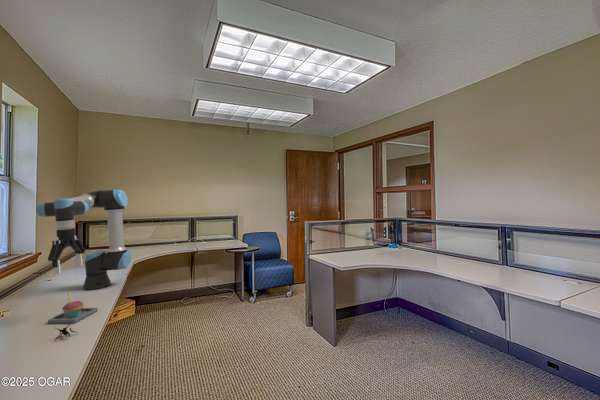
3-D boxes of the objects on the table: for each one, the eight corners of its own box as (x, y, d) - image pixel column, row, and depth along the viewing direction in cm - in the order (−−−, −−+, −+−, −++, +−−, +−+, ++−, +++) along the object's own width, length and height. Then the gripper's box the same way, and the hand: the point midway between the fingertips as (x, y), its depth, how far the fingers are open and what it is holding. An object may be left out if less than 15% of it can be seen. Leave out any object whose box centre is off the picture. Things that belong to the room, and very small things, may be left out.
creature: (80, 338, 127) (73, 329, 132) (80, 327, 126) (73, 319, 131) (57, 346, 121) (51, 337, 125) (57, 334, 120) (51, 325, 125)
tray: (72, 311, 155) (72, 308, 155) (97, 311, 154) (97, 307, 154) (48, 323, 141) (47, 319, 141) (75, 323, 140) (75, 319, 140)
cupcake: (59, 320, 142) (58, 296, 142) (68, 313, 150) (66, 290, 150) (80, 317, 145) (78, 293, 144) (87, 311, 153) (86, 288, 152)
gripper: (78, 225, 161) (81, 263, 163) (35, 232, 137) (39, 277, 138) (91, 225, 161) (94, 262, 162) (50, 232, 136) (54, 277, 137)
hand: (69, 269), depth 150 cm, fingers open, 13 cm apart
